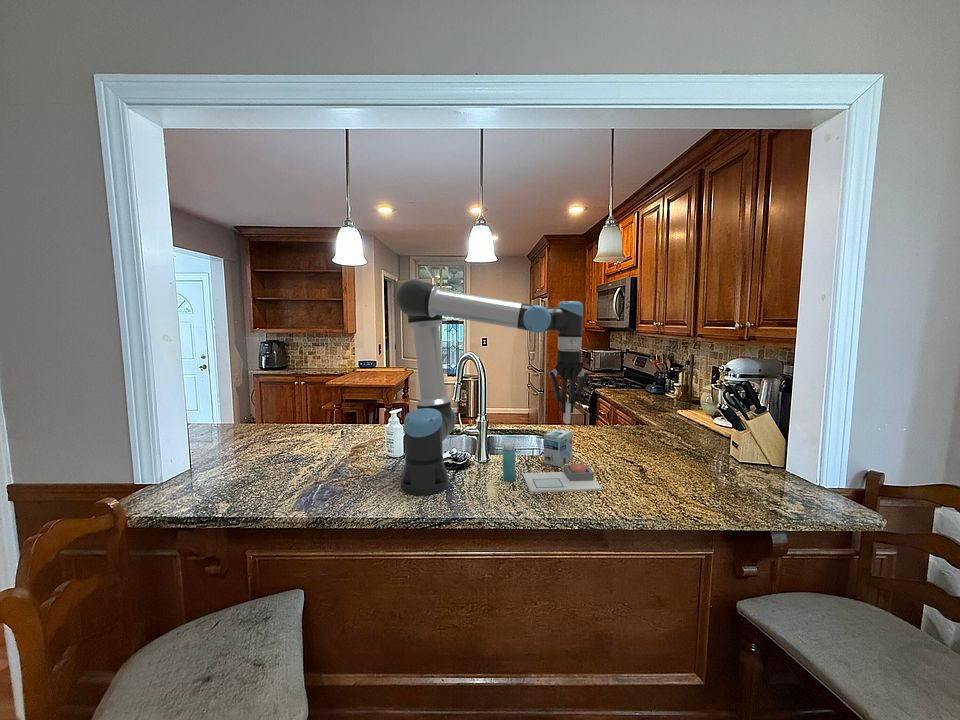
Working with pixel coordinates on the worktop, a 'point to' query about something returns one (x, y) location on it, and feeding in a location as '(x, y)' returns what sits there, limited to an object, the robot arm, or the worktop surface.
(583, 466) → the button
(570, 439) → the light bulb box
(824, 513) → the worktop surface
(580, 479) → the page board
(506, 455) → the teal bottle
